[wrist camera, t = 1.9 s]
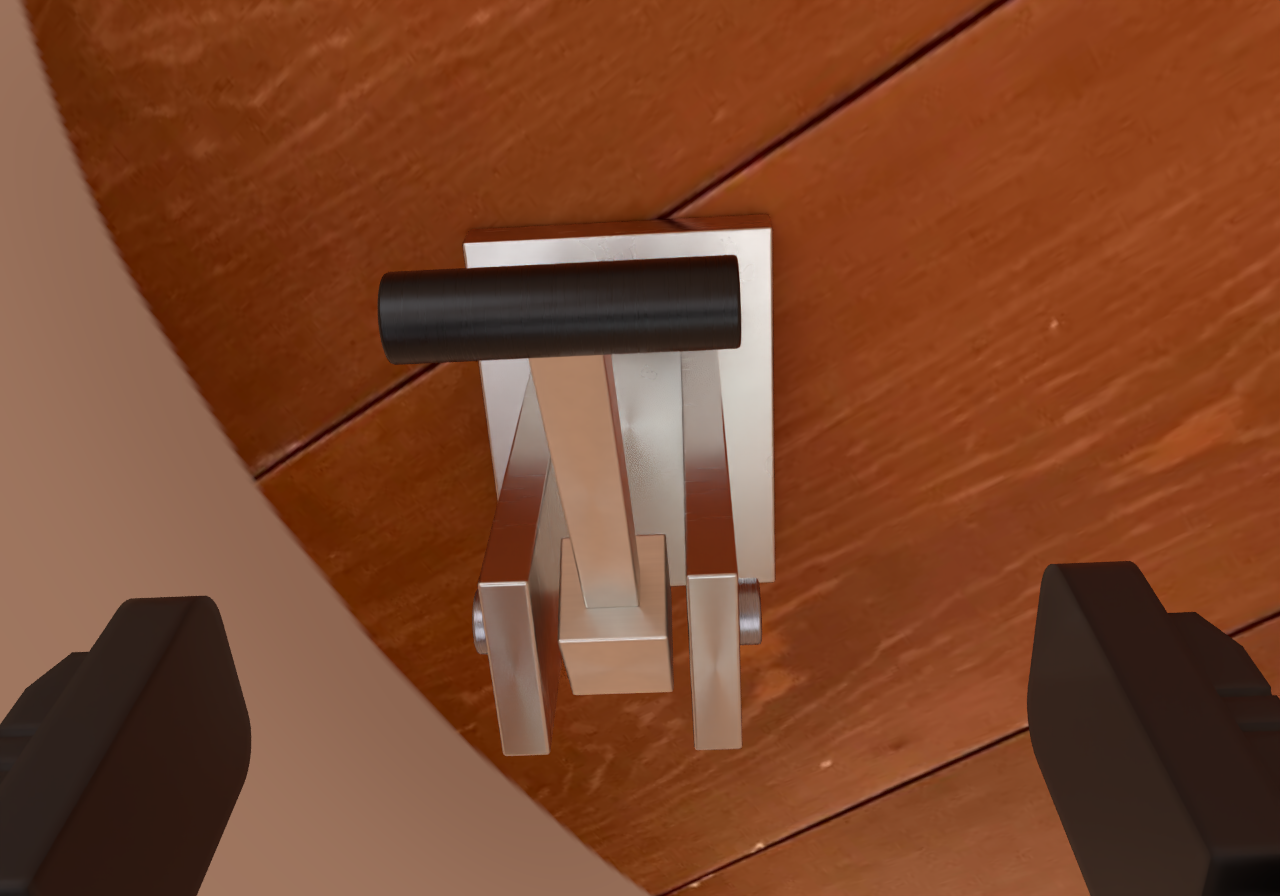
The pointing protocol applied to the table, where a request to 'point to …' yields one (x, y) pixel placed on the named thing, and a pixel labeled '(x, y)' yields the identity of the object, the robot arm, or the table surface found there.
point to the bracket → (637, 477)
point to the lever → (580, 419)
